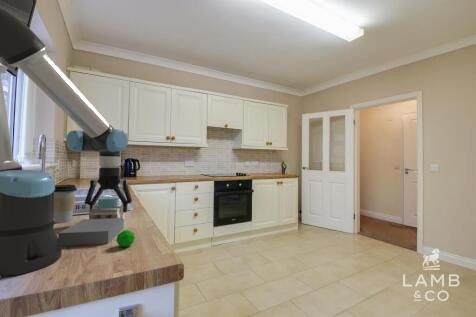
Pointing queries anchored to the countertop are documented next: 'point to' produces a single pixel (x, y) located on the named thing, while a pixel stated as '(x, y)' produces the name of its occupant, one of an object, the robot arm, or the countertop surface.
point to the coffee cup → (64, 202)
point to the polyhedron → (125, 238)
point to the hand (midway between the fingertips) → (108, 220)
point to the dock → (91, 232)
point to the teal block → (108, 202)
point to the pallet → (105, 213)
